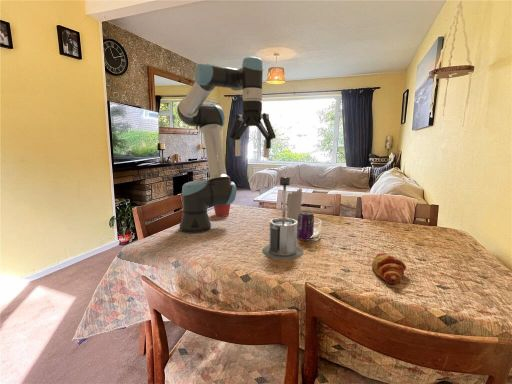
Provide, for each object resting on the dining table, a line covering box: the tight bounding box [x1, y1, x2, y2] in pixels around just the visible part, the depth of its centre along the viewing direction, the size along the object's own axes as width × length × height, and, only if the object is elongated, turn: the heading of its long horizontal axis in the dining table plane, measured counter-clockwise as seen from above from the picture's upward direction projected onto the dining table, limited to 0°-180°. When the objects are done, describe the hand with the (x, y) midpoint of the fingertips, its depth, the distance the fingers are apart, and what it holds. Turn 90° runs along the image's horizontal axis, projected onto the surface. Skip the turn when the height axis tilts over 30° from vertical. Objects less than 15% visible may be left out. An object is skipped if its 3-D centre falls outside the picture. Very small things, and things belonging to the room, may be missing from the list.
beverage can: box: [297, 210, 315, 241], centre depth 126 cm, size 7×7×12 cm
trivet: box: [261, 245, 304, 261], centre depth 109 cm, size 16×16×1 cm
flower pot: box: [213, 204, 231, 217], centre depth 164 cm, size 11×11×10 cm
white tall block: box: [286, 187, 303, 226], centre depth 147 cm, size 7×14×20 cm, turn 54°
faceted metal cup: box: [269, 217, 298, 257], centre depth 107 cm, size 11×13×12 cm
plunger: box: [274, 176, 293, 225], centre depth 106 cm, size 8×8×19 cm
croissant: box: [371, 252, 407, 284], centre depth 94 cm, size 21×10×8 cm, turn 165°
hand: (251, 156), depth 112 cm, fingers open, 13 cm apart
